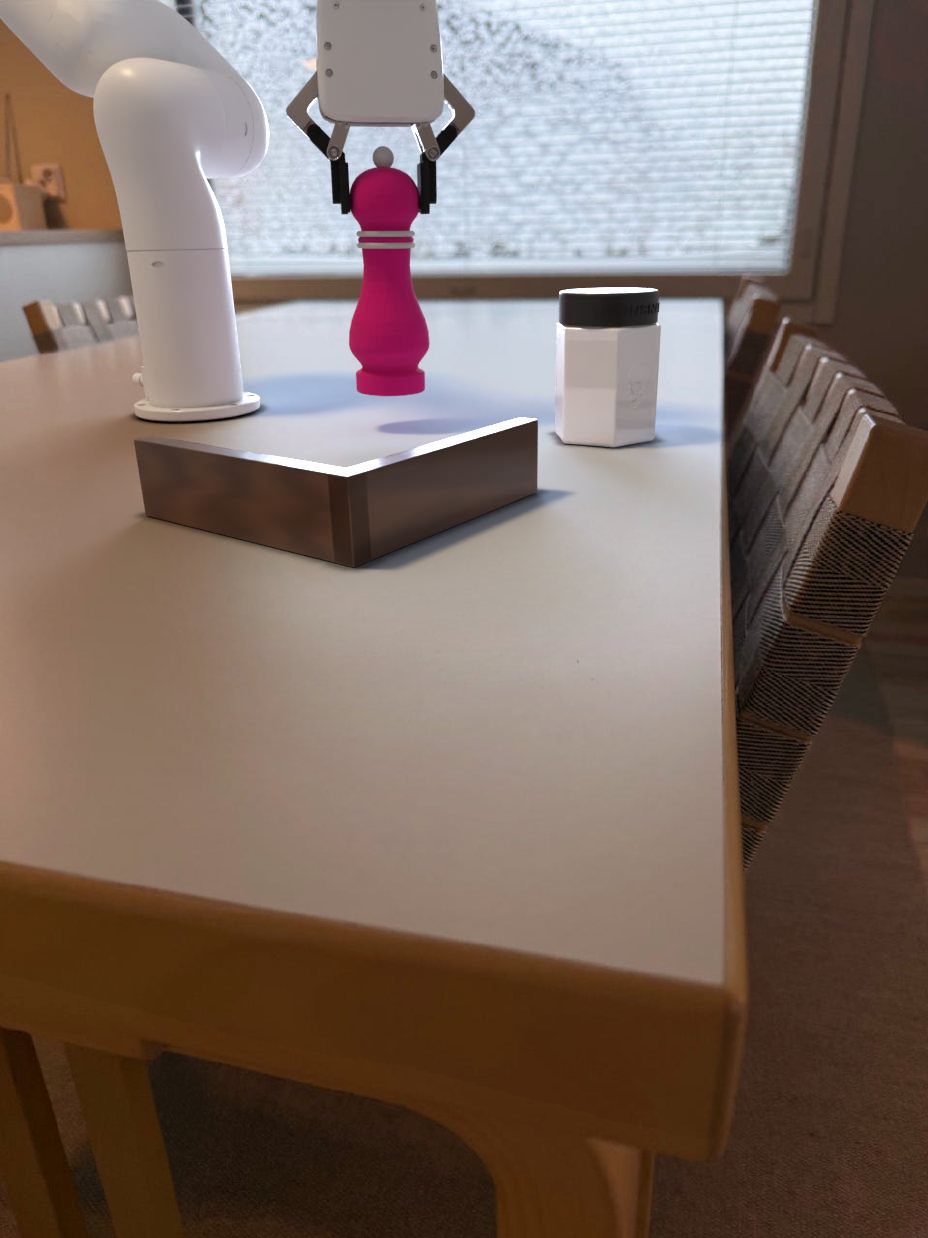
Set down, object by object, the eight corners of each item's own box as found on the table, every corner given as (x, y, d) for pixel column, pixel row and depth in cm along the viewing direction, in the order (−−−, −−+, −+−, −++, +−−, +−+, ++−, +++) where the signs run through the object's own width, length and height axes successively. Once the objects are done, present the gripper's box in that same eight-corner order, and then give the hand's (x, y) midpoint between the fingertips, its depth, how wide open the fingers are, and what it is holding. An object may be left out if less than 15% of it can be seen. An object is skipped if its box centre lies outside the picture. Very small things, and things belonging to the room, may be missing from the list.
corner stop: (145, 515, 60) (132, 439, 58) (341, 460, 74) (337, 396, 72) (353, 567, 50) (347, 476, 48) (537, 492, 63) (538, 419, 62)
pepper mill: (443, 387, 86) (441, 147, 78) (407, 399, 80) (400, 141, 72) (376, 382, 89) (367, 150, 81) (336, 394, 83) (322, 144, 75)
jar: (595, 452, 74) (600, 294, 70) (533, 436, 81) (535, 291, 76) (675, 437, 79) (685, 289, 74) (611, 423, 85) (616, 286, 81)
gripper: (478, -25, 76) (477, 214, 83) (265, -32, 74) (283, 214, 81) (494, -49, 69) (492, 213, 76) (260, -58, 67) (280, 213, 74)
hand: (384, 211), depth 79 cm, fingers closed on pepper mill, 6 cm apart
